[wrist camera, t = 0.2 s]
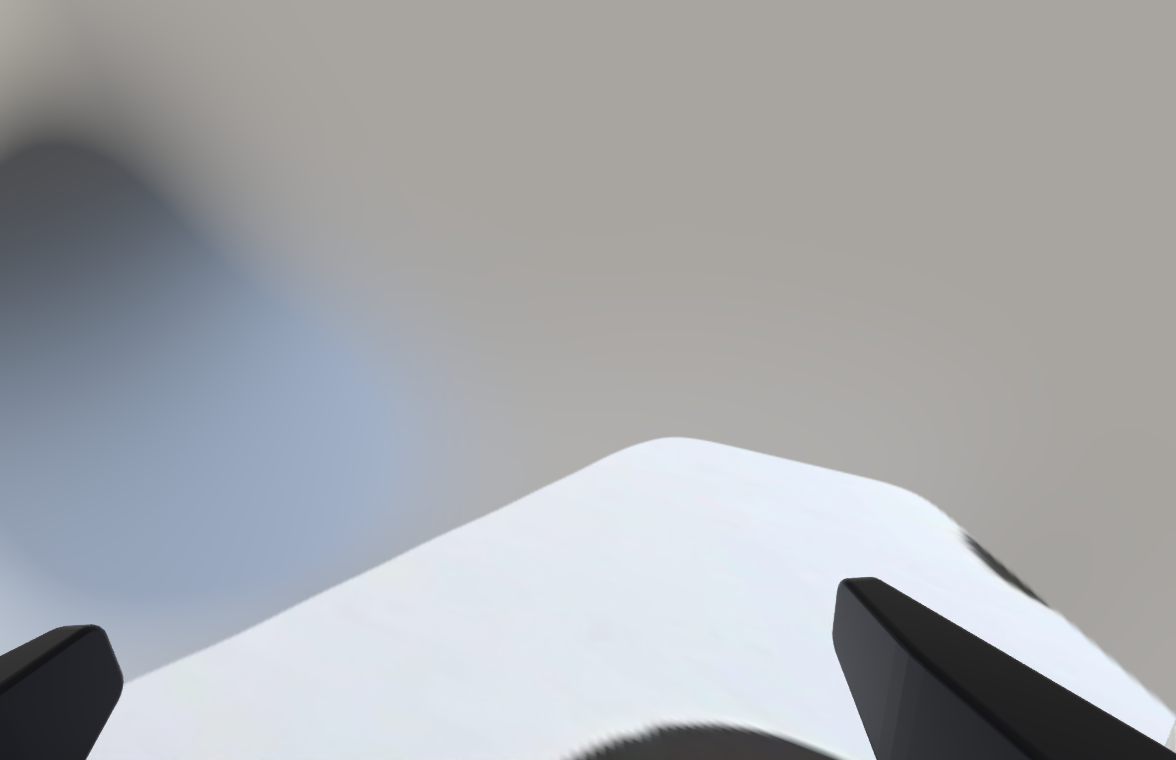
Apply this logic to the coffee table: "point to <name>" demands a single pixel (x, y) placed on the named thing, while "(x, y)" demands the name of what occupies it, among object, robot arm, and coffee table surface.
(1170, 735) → the white cylinder
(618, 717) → the coffee table surface
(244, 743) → the coffee table surface
